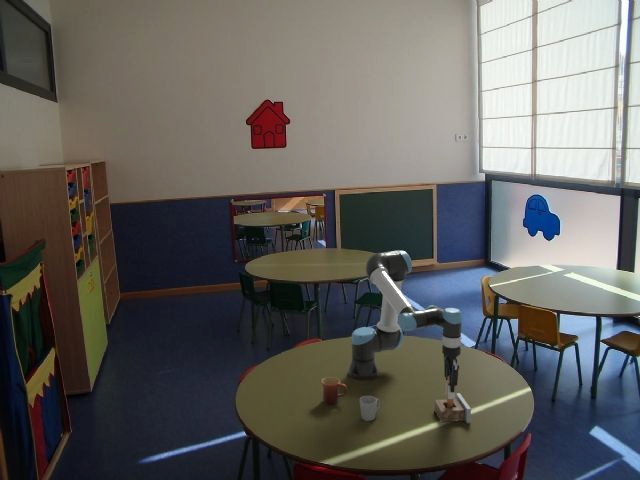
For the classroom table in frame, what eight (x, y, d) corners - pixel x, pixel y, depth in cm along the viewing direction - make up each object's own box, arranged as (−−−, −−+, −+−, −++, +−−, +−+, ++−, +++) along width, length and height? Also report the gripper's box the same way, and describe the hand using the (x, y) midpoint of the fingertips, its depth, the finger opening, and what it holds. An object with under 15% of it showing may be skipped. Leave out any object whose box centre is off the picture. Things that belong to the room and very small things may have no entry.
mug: (319, 405, 249) (318, 384, 247) (325, 396, 257) (324, 375, 255) (344, 408, 245) (344, 387, 243) (349, 399, 253) (349, 379, 251)
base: (466, 423, 231) (467, 409, 230) (455, 406, 244) (456, 393, 243) (470, 422, 231) (470, 408, 230) (459, 406, 245) (459, 393, 243)
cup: (356, 416, 238) (355, 398, 236) (374, 410, 243) (374, 392, 242) (366, 424, 232) (366, 405, 230) (385, 417, 237) (385, 399, 235)
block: (441, 422, 232) (441, 411, 231) (434, 410, 242) (434, 400, 241) (464, 420, 233) (464, 409, 232) (456, 408, 242) (456, 398, 242)
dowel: (447, 408, 235) (448, 378, 232) (445, 405, 238) (446, 375, 235) (454, 408, 235) (455, 378, 232) (452, 405, 238) (453, 375, 235)
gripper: (466, 351, 224) (465, 404, 228) (454, 337, 239) (453, 388, 243) (448, 352, 223) (447, 406, 228) (437, 338, 238) (436, 389, 243)
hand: (450, 396), depth 235 cm, fingers closed on dowel, 2 cm apart
